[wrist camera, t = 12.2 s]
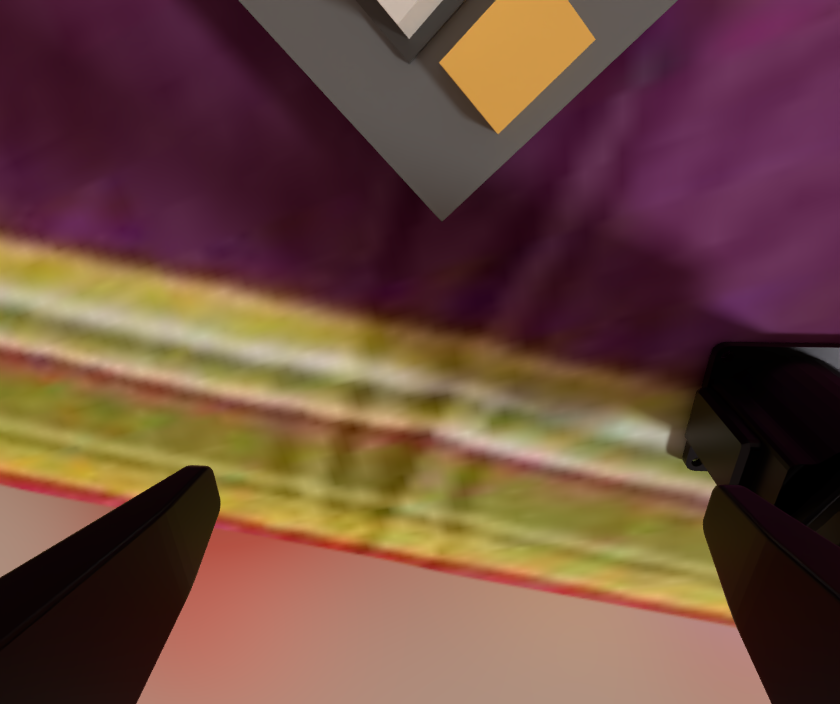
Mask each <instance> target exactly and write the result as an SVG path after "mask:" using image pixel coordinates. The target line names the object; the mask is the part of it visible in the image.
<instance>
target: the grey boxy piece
mask: <svg viewBox="0 0 840 704" xmlns="http://www.w3.org/2000/svg"><path fill="white" fill-rule="evenodd" d="M239 1H240V2H241V4H242V5H243V6H244V7H245V8H246V9H247V10H248V11H249V12H250V13H251V14H252V16H253V17H254V18H255V19H256V20H257V21H258V22H259V23H260V24H261V25H262V26H263V28H264V29H265V30H266V31H267V32H268V33H269V34H270V35H271V36H272V37H273V38H274V40H275V41H276V42H277V43H278V44H279V45H280V46H281V47H282V48H283V49H284V50H285V52H286V53H287V54H288V55H289V56H290V57H291V58H292V59H293V60H294V61H295V62H296V63H297V65H298V66H299V67H300V68H301V69H302V70H303V71H304V72H305V73H306V74H307V75H308V77H309V78H310V79H311V80H312V81H313V82H314V83H315V84H316V85H317V86H318V87H319V89H320V90H321V91H322V92H323V93H324V94H325V95H326V96H327V97H328V98H329V99H330V101H331V102H332V103H333V104H334V105H335V106H336V107H337V108H338V109H339V110H340V111H341V113H342V114H343V115H344V116H345V117H346V118H347V119H348V120H349V121H350V122H351V123H352V125H353V126H354V127H355V128H356V129H357V130H358V131H359V132H360V133H361V134H362V135H363V136H364V138H365V139H366V140H367V141H368V142H369V143H370V144H371V145H372V146H373V147H374V148H375V150H376V151H377V152H378V153H379V154H380V155H381V156H382V157H383V158H384V159H385V160H386V162H387V163H388V164H389V165H390V166H391V167H392V168H393V169H394V170H395V171H396V172H397V174H398V175H399V176H400V177H401V178H402V179H403V180H404V181H405V182H406V183H407V184H408V186H409V187H410V188H411V189H412V190H413V191H414V192H415V193H416V194H417V195H418V196H419V198H420V199H421V200H422V201H423V202H424V203H425V204H426V205H427V206H428V207H429V208H430V209H431V211H432V212H433V213H434V214H435V215H436V216H437V217H438V218H439V219H440V220H441V221H443V220H444V219H445V218H447V217H448V216H449V215H450V214H451V213H452V212H453V211H454V210H455V209H456V208H457V207H458V206H459V205H460V204H461V203H463V202H464V201H465V200H466V199H467V198H468V197H469V196H470V195H471V194H472V193H473V192H474V191H475V190H476V189H477V188H478V187H480V186H481V185H482V184H483V183H484V182H485V181H486V180H487V179H488V178H489V177H490V176H491V175H492V174H493V173H494V172H495V171H497V170H498V169H499V168H500V167H501V166H502V165H503V164H504V163H505V162H506V161H507V160H508V159H509V158H510V157H511V156H513V155H514V154H515V153H516V152H517V151H518V150H519V149H520V148H521V147H522V146H523V145H524V144H525V143H526V142H527V141H528V140H530V139H531V138H532V137H533V136H534V135H535V134H536V133H537V132H538V131H539V130H540V129H541V128H542V127H543V126H544V125H545V124H547V123H548V122H549V121H550V120H551V119H552V118H553V117H554V116H555V115H556V114H557V113H558V112H559V111H560V110H561V109H562V108H564V107H565V106H566V105H567V104H568V103H569V102H570V101H571V100H572V99H573V98H574V97H575V96H576V95H577V94H578V93H580V92H581V91H582V90H583V89H584V88H585V87H586V86H587V85H588V84H589V83H590V82H591V81H592V80H593V79H594V78H595V77H597V76H598V75H599V74H600V73H601V72H602V71H603V70H604V69H605V68H606V67H607V66H608V65H609V64H610V63H611V62H612V61H614V60H615V59H616V58H617V57H618V56H619V55H620V54H621V53H622V52H623V51H624V50H625V49H626V48H627V47H628V46H630V45H631V44H632V43H633V42H634V41H635V40H636V39H637V38H638V37H639V36H640V35H641V34H642V33H643V32H644V31H645V30H647V29H648V28H649V27H650V26H651V25H652V24H653V23H654V22H655V21H656V20H657V19H658V18H659V17H660V16H661V15H662V14H664V13H665V12H666V11H667V10H668V9H669V8H670V7H671V6H672V5H673V4H674V3H675V2H676V1H677V0H239Z"/></svg>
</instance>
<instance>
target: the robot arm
mask: <svg viewBox="0 0 840 704" xmlns="http://www.w3.org/2000/svg"><path fill="white" fill-rule="evenodd" d="M728 351H730V353H729V355H728V356H726V357H724V358H721V357H722V355H723V354H724V353H725V352H728ZM685 438H686V440H687V442H686V446H685V450H684V453H683V461H684V463H685V465H686V466H687V468H688V469H690V470H694V471H708V472H709V474H710V475H711V477H712V478H713V480H714V481H715V483H716V484H717V486H715V488H714V489H713V491H712V493H711V497H710V500H709V503H708V506H707V509H706V512H705V516H704V519H703V530H704V535H705V538H706V541H707V544H708V547H709V550H710V553H711V556H712V559H713V562H714V564H715V567H716V570H717V573H718V576H719V579H720V582H721V585H722V588H723V591H724V594H725V597H726V600H727V603H728V606H729V609H730V611H731V614H732V617H733V619H734V622H735V624H736V626H737V629H738V631H739V633H740V636H741V638H742V640H743V642H744V644H745V647H746V649H747V651H748V653H749V655H750V657H751V660H752V662H753V664H754V666H755V668H756V671H757V673H758V675H759V677H760V679H761V682H762V684H763V686H764V688H765V690H766V693H767V695H768V697H769V699H770V701H771V703H772V704H840V344H824V343H766V342H722V343H720V344H717V345H716V346H715V347H714V348H713V350H712V352H711V355H710V358H709V362H708V365H707V369H706V373H705V376H704V380H703V384H702V387H701V388H700V389H699V390H698V391H697V393H696V397H695V400H694V404H693V408H692V411H691V415H690V419H689V423H688V426H687V430H686V434H685ZM695 458H698V459H697V460H696V461H692V460H693V459H695ZM219 511H220V496H219V492H218V488H217V484H216V480H215V476H214V473H213V470H212V469H211V468H210V467H208V466H198V465H190V466H186V467H184V468H182V469H181V470H179V471H177V472H176V473H174V474H172V475H171V476H169V477H167V478H166V479H164V480H162V481H161V482H159V483H157V484H156V485H154V486H152V487H151V488H149V489H147V490H146V491H144V492H142V493H141V494H139V495H137V496H136V497H134V498H132V499H131V500H129V501H127V502H126V503H124V504H122V505H121V506H119V507H117V508H116V509H114V510H112V511H111V512H109V513H107V514H106V515H104V516H102V517H101V518H99V519H97V520H96V521H94V522H92V523H91V524H89V525H87V526H86V527H84V528H82V529H81V530H79V531H77V532H76V533H74V534H72V535H71V536H69V537H67V538H66V539H64V540H63V541H61V542H59V543H57V544H56V545H54V546H52V547H51V548H49V549H47V550H46V551H44V552H42V553H41V554H39V555H37V556H36V557H34V558H32V559H30V560H29V561H27V562H25V563H24V564H22V565H20V566H19V567H17V568H16V569H14V570H12V571H11V572H9V573H7V574H5V575H4V576H2V577H1V578H0V704H136V703H137V701H138V699H139V697H140V695H141V693H142V691H143V689H144V687H145V685H146V682H147V680H148V678H149V676H150V674H151V672H152V670H153V668H154V666H155V664H156V662H157V660H158V658H159V656H160V653H161V651H162V649H163V647H164V645H165V643H166V641H167V639H168V637H169V635H170V633H171V631H172V629H173V627H174V624H175V622H176V620H177V618H178V616H179V614H180V612H181V610H182V608H183V606H184V604H185V602H186V599H187V597H188V595H189V593H190V591H191V588H192V586H193V583H194V581H195V578H196V575H197V573H198V570H199V567H200V564H201V561H202V559H203V556H204V553H205V550H206V548H207V545H208V542H209V539H210V536H211V534H212V531H213V528H214V526H215V523H216V520H217V517H218V514H219Z"/></svg>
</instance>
